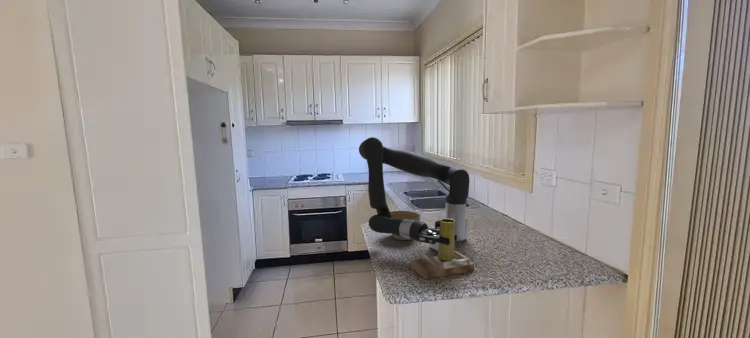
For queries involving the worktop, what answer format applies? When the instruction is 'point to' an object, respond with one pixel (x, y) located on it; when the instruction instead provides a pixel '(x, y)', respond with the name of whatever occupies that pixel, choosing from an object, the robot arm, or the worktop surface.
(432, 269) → the dock
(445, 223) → the vase
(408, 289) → the worktop surface
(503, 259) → the worktop surface
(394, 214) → the planter bowl
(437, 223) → the medicine bottle
